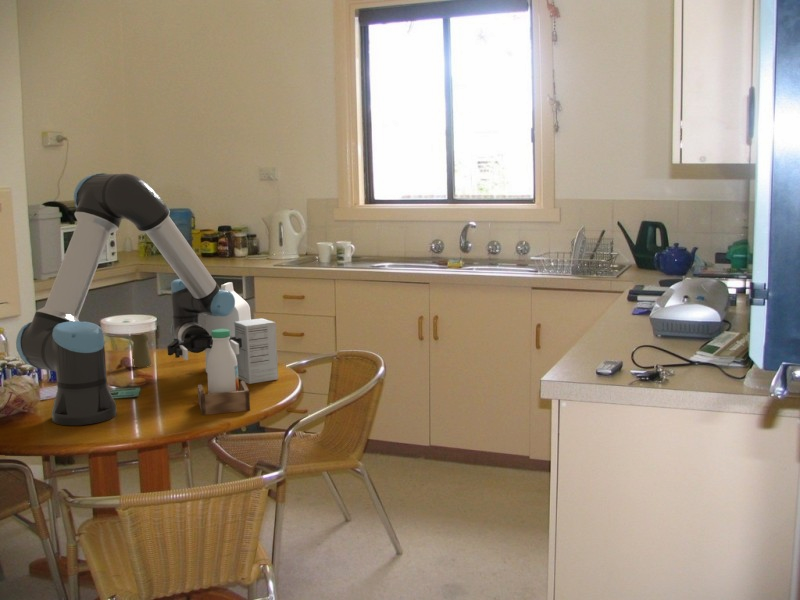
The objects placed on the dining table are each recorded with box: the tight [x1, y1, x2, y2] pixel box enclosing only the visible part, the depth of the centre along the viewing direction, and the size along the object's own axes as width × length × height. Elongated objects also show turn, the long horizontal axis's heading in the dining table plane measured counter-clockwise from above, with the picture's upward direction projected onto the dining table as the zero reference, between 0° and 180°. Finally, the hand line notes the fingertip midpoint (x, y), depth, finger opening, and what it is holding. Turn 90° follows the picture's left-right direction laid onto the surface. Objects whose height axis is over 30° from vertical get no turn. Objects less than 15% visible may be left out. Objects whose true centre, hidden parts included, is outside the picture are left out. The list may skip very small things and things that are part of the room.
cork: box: [130, 333, 153, 368], centre depth 276 cm, size 6×6×11 cm
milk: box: [204, 281, 252, 374], centre depth 270 cm, size 12×12×26 cm
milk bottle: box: [207, 329, 240, 394], centre depth 229 cm, size 8×8×20 cm
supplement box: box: [234, 317, 279, 385], centre depth 257 cm, size 10×9×17 cm
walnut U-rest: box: [197, 380, 251, 416], centre depth 230 cm, size 12×11×5 cm
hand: (212, 352), depth 236 cm, fingers open, 13 cm apart
